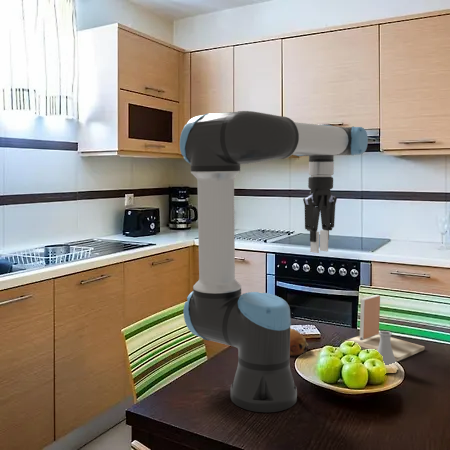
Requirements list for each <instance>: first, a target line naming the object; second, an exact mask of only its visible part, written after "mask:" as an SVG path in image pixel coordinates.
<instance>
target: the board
mask: <svg viewBox="0 0 450 450" xmlns="http://www.w3.org/2000/svg"><path fill="white" fill-rule="evenodd" d="M345 341H354V342H357V343H358V344H359V345H360V346H361V348H362V349H376V350H378V347H379V343H380V335H379V334H378V335H375V336H373V337H370V338H367V339H364V340H360V335H357V336H354V337H350V338H348V339H346V340H343V343H344V342H345ZM390 341H391V347H392V351H393V354H394V357H395V360H396V362H400V361H402V360H405V359H407V358H409V357H411V356H413V355H415V354H418V353H420V352H423V351H425V348H426V347H425V346H424V345H420V344H417V343H414V342H413V343H412V342H409V341H407V340H404V339H399V338H395V337H392V336H391V340H390Z"/></svg>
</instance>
